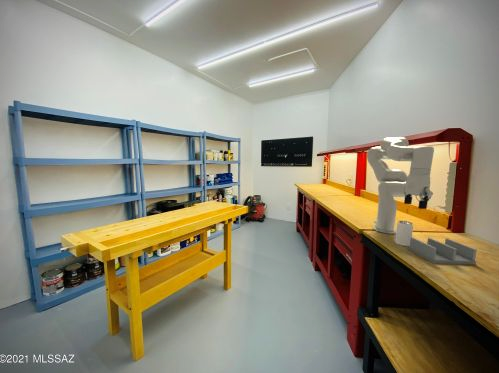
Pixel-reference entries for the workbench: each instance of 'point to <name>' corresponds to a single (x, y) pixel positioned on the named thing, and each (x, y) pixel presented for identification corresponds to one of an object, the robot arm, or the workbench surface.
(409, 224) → the can
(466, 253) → the rack
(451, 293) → the workbench surface
